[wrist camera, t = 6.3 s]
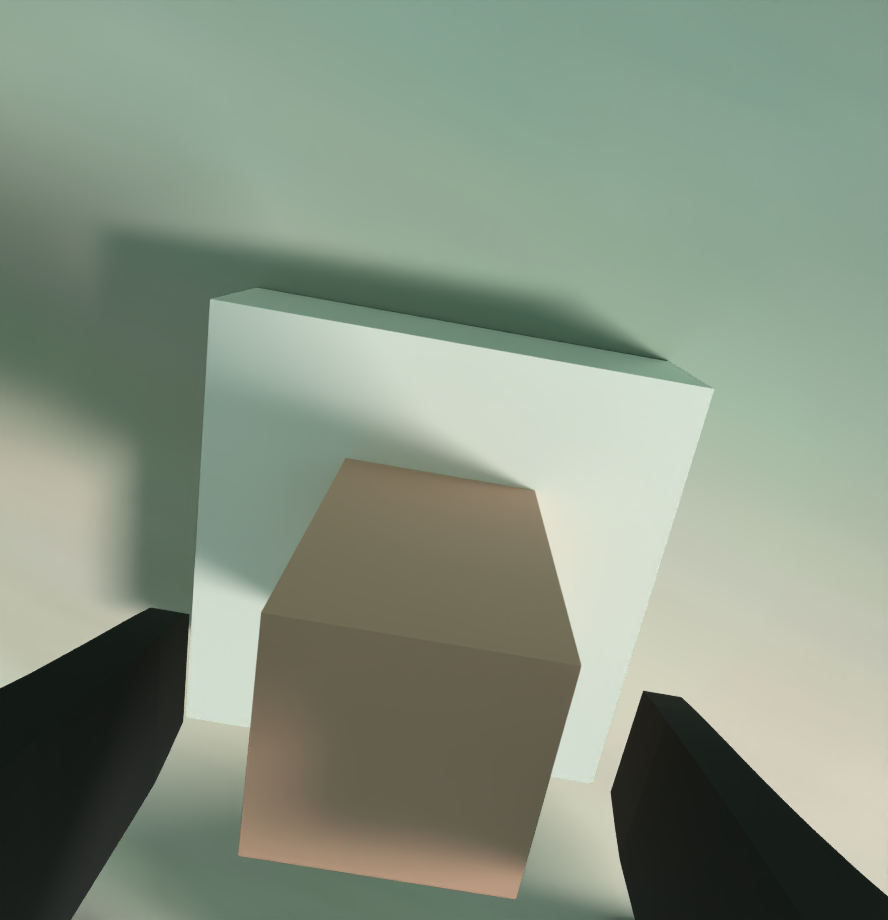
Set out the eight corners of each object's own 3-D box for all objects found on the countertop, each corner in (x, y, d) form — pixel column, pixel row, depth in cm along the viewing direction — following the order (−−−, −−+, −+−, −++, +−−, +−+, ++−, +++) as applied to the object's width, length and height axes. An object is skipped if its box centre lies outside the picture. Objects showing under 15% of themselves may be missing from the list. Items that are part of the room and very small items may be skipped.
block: (497, 651, 15) (516, 898, 10) (324, 622, 15) (237, 854, 9) (534, 490, 14) (581, 666, 8) (345, 458, 14) (260, 612, 8)
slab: (573, 702, 19) (592, 783, 16) (228, 645, 19) (185, 717, 16) (670, 361, 16) (714, 388, 13) (256, 287, 16) (209, 298, 13)
